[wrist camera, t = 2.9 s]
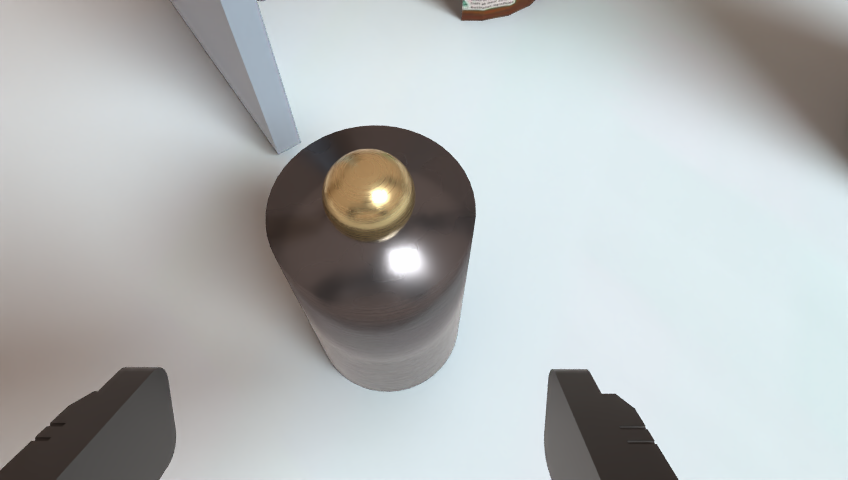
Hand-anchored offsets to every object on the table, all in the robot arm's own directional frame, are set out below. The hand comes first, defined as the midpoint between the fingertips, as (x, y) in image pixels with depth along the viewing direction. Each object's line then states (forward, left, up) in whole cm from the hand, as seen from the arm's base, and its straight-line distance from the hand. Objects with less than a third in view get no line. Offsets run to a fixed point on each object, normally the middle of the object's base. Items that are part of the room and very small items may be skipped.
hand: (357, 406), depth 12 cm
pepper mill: (-4, -3, -10) cm, 11 cm away
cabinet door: (-11, -18, -9) cm, 24 cm away
